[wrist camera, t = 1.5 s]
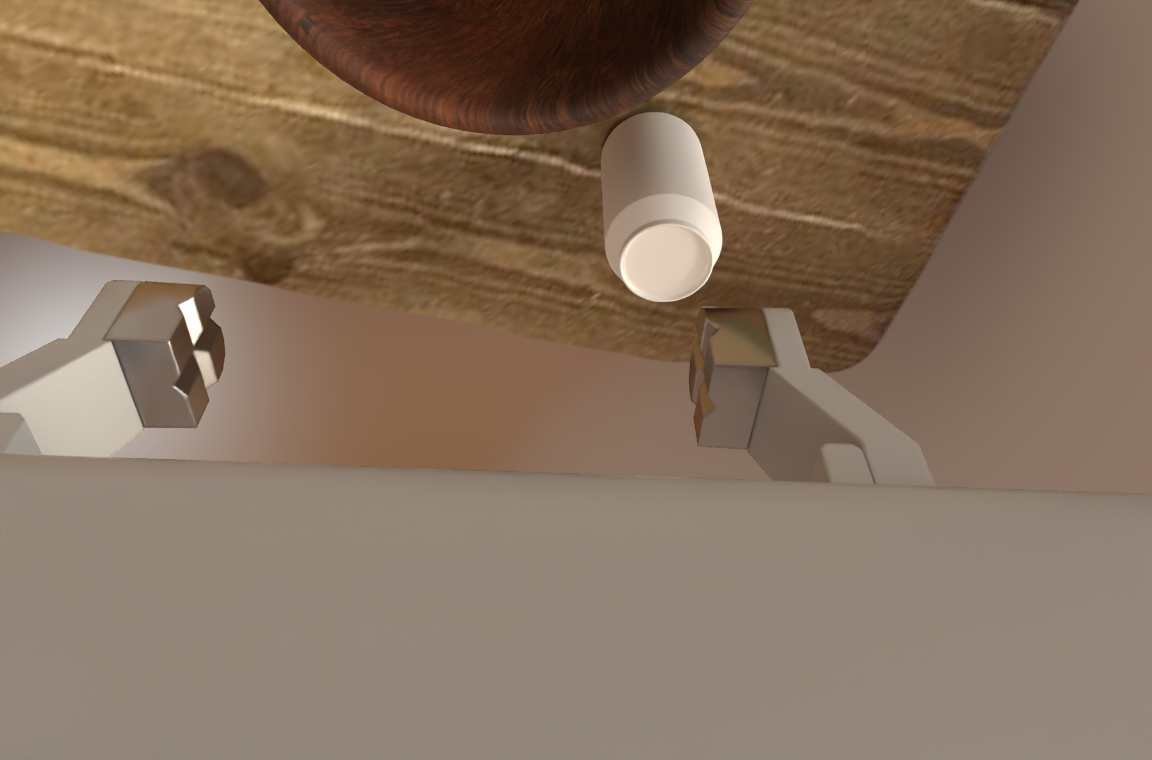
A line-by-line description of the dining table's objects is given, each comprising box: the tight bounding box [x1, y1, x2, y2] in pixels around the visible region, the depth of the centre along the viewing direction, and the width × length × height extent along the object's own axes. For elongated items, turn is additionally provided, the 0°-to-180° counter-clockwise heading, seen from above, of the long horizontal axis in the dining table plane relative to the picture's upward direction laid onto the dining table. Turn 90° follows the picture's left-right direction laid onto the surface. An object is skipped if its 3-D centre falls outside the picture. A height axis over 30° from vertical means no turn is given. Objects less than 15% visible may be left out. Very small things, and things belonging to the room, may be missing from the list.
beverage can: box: [601, 112, 722, 302], centre depth 50 cm, size 6×6×12 cm
